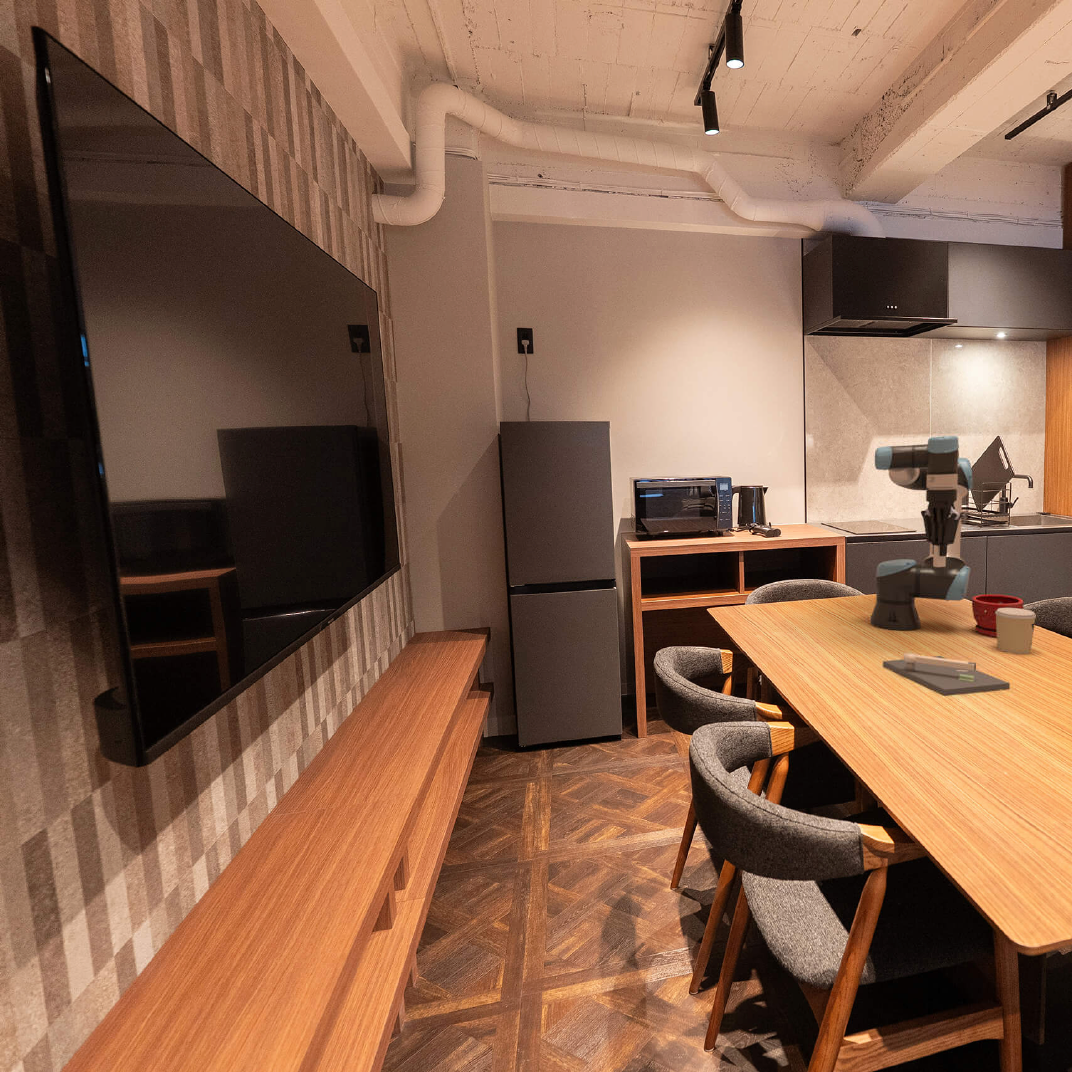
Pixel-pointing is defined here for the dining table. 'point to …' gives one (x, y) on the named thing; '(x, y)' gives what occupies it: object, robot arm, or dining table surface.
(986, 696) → the dining table surface
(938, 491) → the robot arm
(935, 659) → the knob-ended beige rod
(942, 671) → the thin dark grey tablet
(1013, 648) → the coffee cup
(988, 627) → the plant pot
